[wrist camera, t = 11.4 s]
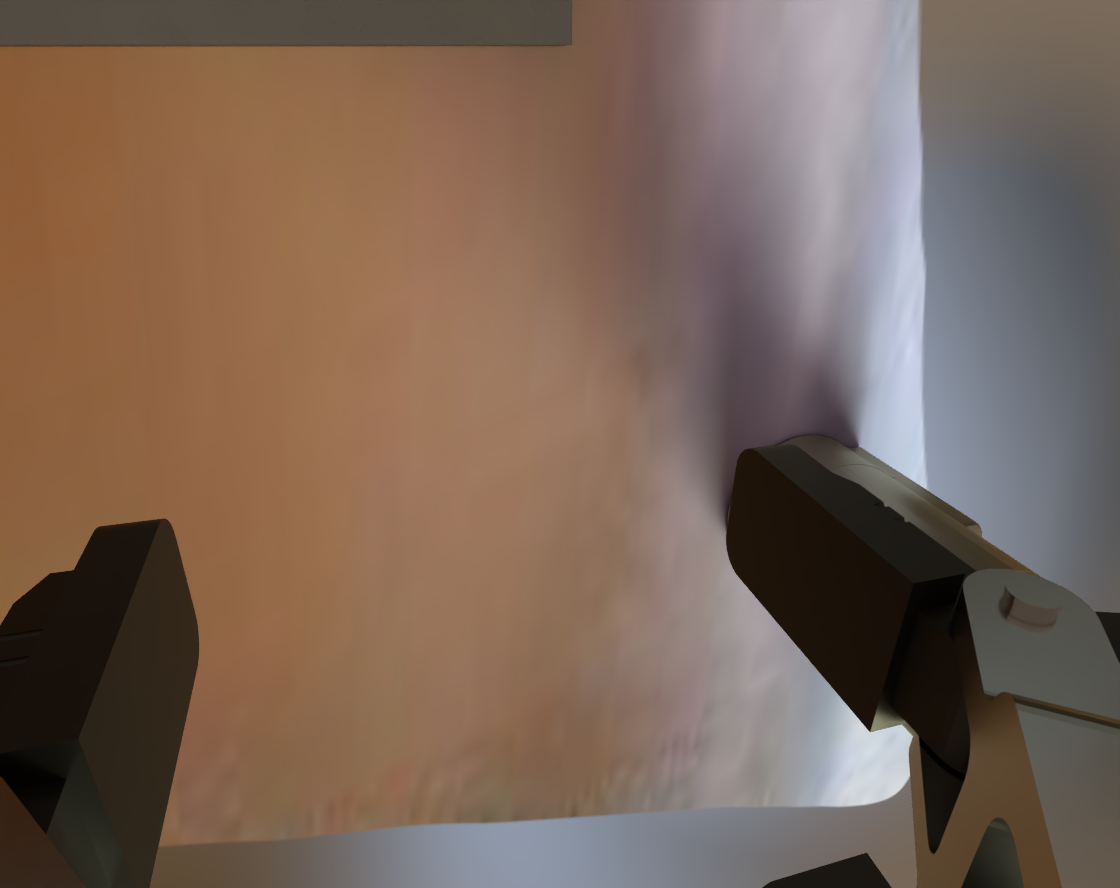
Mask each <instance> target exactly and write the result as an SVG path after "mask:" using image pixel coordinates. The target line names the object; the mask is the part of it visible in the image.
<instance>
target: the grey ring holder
mask: <svg viewBox="0 0 1120 888" xmlns="http://www.w3.org/2000/svg"><path fill="white" fill-rule="evenodd" d="M564 45H572V0H0V46H564Z"/></svg>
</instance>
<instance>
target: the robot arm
mask: <svg viewBox="0 0 1120 888" xmlns="http://www.w3.org/2000/svg"><path fill="white" fill-rule="evenodd" d="M726 545H727V552H728V556H729V560H730V563H731V565H732V567H733V569H734V571H735V573H736V574H737V575H738V577H739V578H740V579H741V580H742V581H743V583H744V584H745V585H746V586H747V587H748V589H749V590H750V591H751V592H752V593H753V594H754V596H755V597H756V598H757V599H758V600H759V602H760V603H761V604H762V605H763V606H764V607H765V609H766V610H767V611H768V612H769V613H770V615H771V616H772V617H773V618H774V619H775V620H776V622H777V623H778V624H779V625H780V626H781V628H782V629H783V630H784V631H785V632H786V633H787V635H788V636H789V637H790V638H791V639H792V641H793V642H794V643H795V644H796V645H797V646H798V648H799V649H800V650H801V651H802V652H803V653H804V655H805V656H806V657H807V658H808V659H809V661H810V662H811V663H812V664H813V665H814V666H815V668H816V669H817V670H818V671H819V672H820V674H821V675H822V676H823V677H824V678H825V679H826V681H827V682H828V683H829V684H830V685H831V687H832V688H833V689H834V690H835V691H836V692H837V694H838V695H839V696H840V697H841V698H842V700H843V701H844V702H845V703H846V704H847V705H848V707H849V708H850V709H851V710H852V711H853V713H854V714H855V715H856V716H857V717H858V718H859V720H860V721H861V722H862V723H863V724H864V726H865V727H866V728H867V729H868V730H869V731H870V732H873V731H877V730H881V729H885V728H889V727H893V726H897V725H901V724H902V725H903V726H904V727H905V728H906V729H907V730H908V732H909V733H910V734H911V735H912V736H913V738H912V741H911V744H910V747H909V765H910V779H911V793H912V808H913V821H914V836H915V851H916V864H917V888H1120V613H1109V612H1094V610H1093V609H1092V608H1091V607H1090V606H1089V605H1088V604H1087V603H1086V602H1084V601H1083V600H1082V599H1081V598H1079V597H1078V596H1077V595H1075V594H1074V593H1072V592H1071V591H1069V590H1067V589H1065V588H1064V587H1062V586H1060V585H1058V584H1055V583H1053V582H1051V581H1049V580H1046V579H1044V578H1043V577H1040V576H1039V575H1038V574H1036V573H1035V572H1033V571H1032V570H1030V569H1029V568H1027V567H1026V566H1024V565H1022V564H1021V563H1019V562H1018V561H1017V560H1015V559H1014V558H1012V557H1011V556H1009V555H1008V554H1006V553H1005V552H1003V551H1002V550H1000V549H998V548H997V547H995V546H994V545H992V544H991V543H989V542H988V541H986V540H985V539H983V538H982V530H981V528H980V526H979V524H978V523H976V522H975V521H974V520H972V519H971V518H969V517H968V516H966V515H964V514H963V513H961V512H960V511H958V510H956V509H955V508H954V507H952V506H951V505H949V504H947V503H946V502H944V501H943V500H941V499H940V498H938V497H937V496H935V495H934V494H932V493H931V492H929V491H927V490H926V489H924V488H923V487H921V486H920V485H918V484H917V483H915V482H914V481H912V480H910V479H909V478H907V477H906V476H904V475H903V474H901V473H900V472H898V471H897V470H895V469H893V468H892V467H890V466H889V465H887V464H886V463H884V462H883V461H881V460H880V459H878V458H876V457H875V456H873V455H872V454H870V453H869V452H867V451H866V450H864V449H863V448H861V447H856V448H847V447H845V446H844V445H842V444H841V443H839V442H838V441H836V440H834V439H831V438H829V437H826V436H819V435H807V436H801V437H796V438H793V439H791V440H788V441H785V442H783V443H781V444H779V445H775V446H767V447H758V448H750V449H746V450H744V451H743V452H742V453H741V454H740V456H739V458H738V461H737V465H736V472H735V479H734V485H733V492H732V499H731V502H730V506H729V511H728V527H727V534H726ZM198 659H199V635H198V625H197V619H196V615H195V611H194V607H193V603H192V599H191V595H190V591H189V587H188V583H187V579H186V576H185V572H184V568H183V564H182V560H181V556H180V552H179V548H178V544H177V540H176V537H175V533H174V530H173V528H172V526H171V524H170V522H169V521H168V520H167V519H157V520H149V521H140V522H132V523H124V524H116V525H108V526H100V527H98V528H96V529H95V531H94V532H93V534H92V536H91V538H90V540H89V542H88V544H87V546H86V548H85V549H84V551H83V553H82V555H81V557H80V559H79V561H78V563H77V565H76V567H75V569H74V570H72V571H65V572H57V573H50V574H49V575H48V576H47V577H45V578H44V579H43V580H42V581H40V582H39V583H38V584H37V585H36V586H34V587H33V588H32V589H31V590H29V591H28V592H27V593H26V594H25V595H23V596H22V597H21V598H20V599H18V600H17V601H16V602H15V603H14V604H13V605H12V607H11V609H10V610H9V612H8V614H7V615H6V617H5V619H4V620H3V622H2V624H1V625H0V888H149V887H150V881H151V877H152V873H153V868H154V863H155V859H156V854H157V850H158V845H159V841H160V836H161V832H162V827H163V822H164V818H165V813H166V809H167V804H168V800H169V795H170V790H171V786H172V781H173V777H174V772H175V767H176V763H177V758H178V754H179V749H180V745H181V740H182V735H183V731H184V726H185V722H186V717H187V712H188V708H189V703H190V699H191V694H192V690H193V685H194V680H195V676H196V671H197V666H198ZM763 888H891V887H890V885H889V883H888V882H887V881H886V879H885V878H884V876H883V875H882V874H881V872H880V871H879V869H878V868H877V867H876V865H875V864H874V862H873V861H872V860H871V858H870V857H869V855H868V854H867V853H865V854H861V855H858V856H855V857H851V858H848V859H844V860H841V861H838V862H835V863H831V864H828V865H825V866H821V867H818V868H815V869H811V870H808V871H805V872H802V873H798V874H795V875H792V876H788V877H785V878H782V879H779V880H775V881H772V882H770V883H768V884H767V885H765V886H764V887H763Z"/></svg>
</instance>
